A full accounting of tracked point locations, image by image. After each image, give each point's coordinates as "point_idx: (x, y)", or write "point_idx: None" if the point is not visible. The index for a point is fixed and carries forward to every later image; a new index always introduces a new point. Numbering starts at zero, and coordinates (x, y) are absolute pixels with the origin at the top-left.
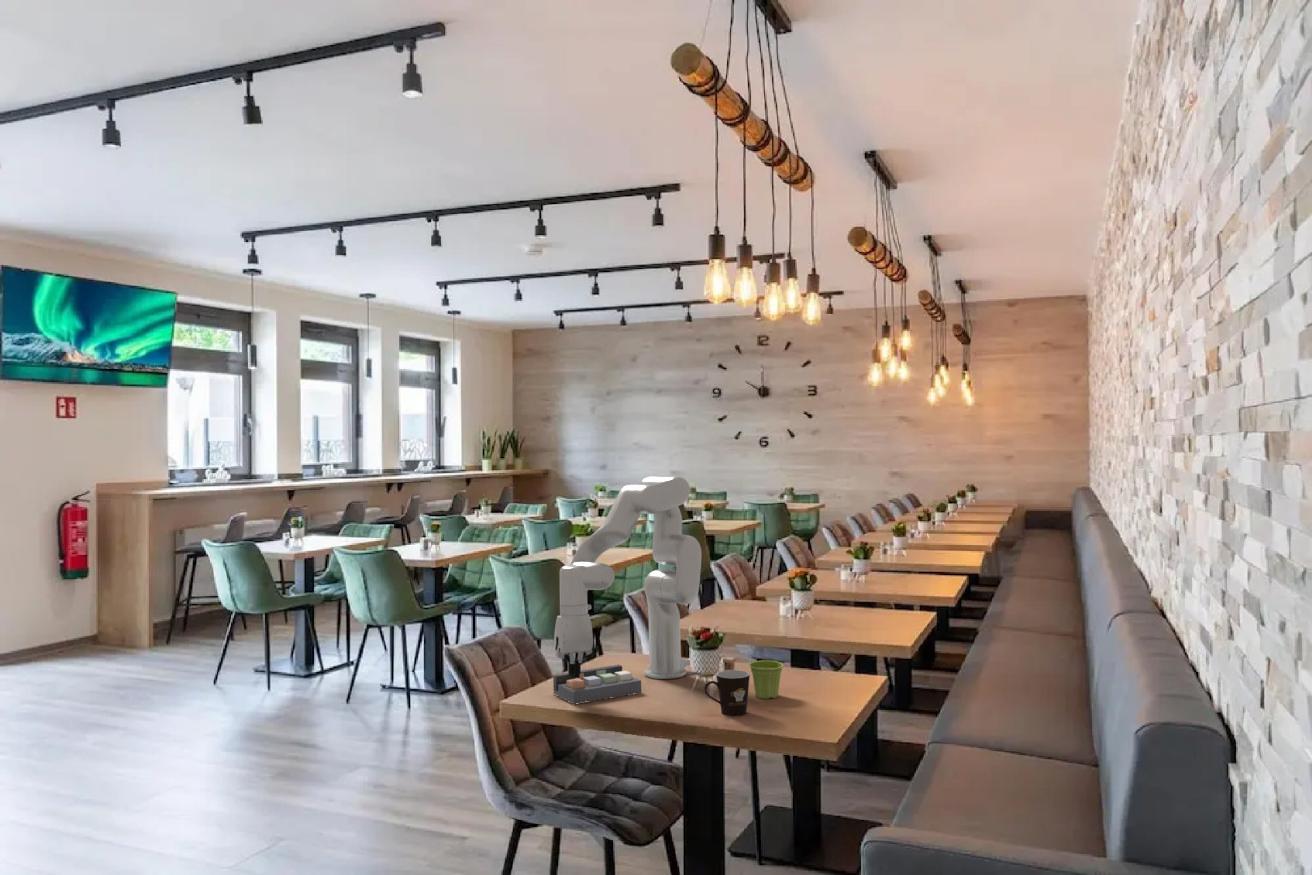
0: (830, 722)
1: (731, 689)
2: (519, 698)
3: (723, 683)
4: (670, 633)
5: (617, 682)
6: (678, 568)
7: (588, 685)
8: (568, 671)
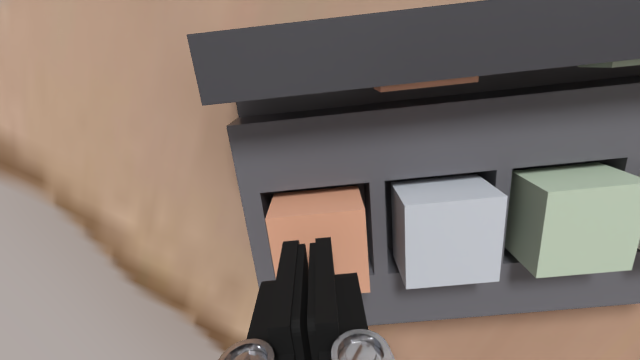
0: None
1: None
2: (10, 23)
3: None
4: None
5: (584, 274)
6: None
7: (397, 261)
8: (259, 292)
